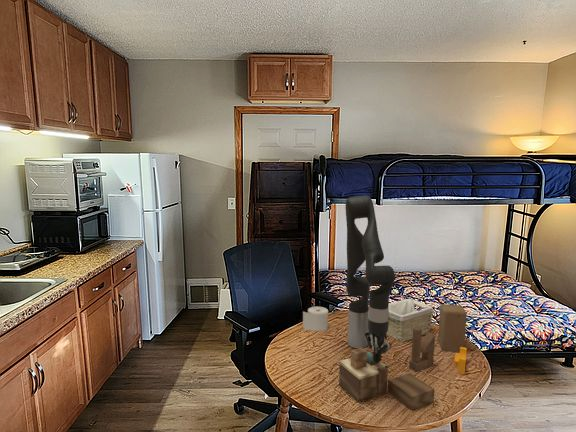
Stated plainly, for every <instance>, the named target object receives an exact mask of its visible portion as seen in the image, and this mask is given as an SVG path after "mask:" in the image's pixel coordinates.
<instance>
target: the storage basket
mask: <svg viewBox="0 0 576 432" xmlns="http://www.w3.org/2000/svg"><path fill="white" fill-rule="evenodd" d="M416 307H417V308H420V310H418V309H417V310H416V309H415V308H416ZM388 309H389V323H388V331H387V333H386V336H389V337H391V338H393V339H395V340H396V341H399V342H400V343H402V342H406V341H409V340H412V338H413V328H414V327H420V328H421V329H422V336H425V335H427V333H428V332H430V333H431V327H432V326H431V324H432V318H433V312H434V310H433V306H431V305H429V304H426V303H423V302H421V301H419V300H416V299H413V298H407V299H402V300H401V299H400V300H397V301H394V302H389V306H388Z"/></svg>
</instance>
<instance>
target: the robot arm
mask: <svg viewBox="0 0 576 432" xmlns="http://www.w3.org/2000/svg"><path fill="white" fill-rule="evenodd" d="M344 209H345V218H346V221H345V222H346V263H347V265H346V266H347V267H346V284H345V287H346V288H345V290H346V293H347V295H348V296H350V297H351V296H352V297H361V298H359V299H356V300H353V301H351V302H349V304H348V324H347V325H348V327H347V329H348V330H347V345H349V346H350V347H351V348H354V349H359V348H363V349H364V348H367V347H368V348H369V349H371V351H372V354H373V361H375V362H376V363H377V362H379V363H381V361H382V354H386V353H387V352H388V350H389V349H391V348H392V344H391V343H389V342H388V335H387V334H386V333H387V331H388V323H389V309H388V306H389V303H390V296H391V295H390V294H391V292H392V289H393V285H394V282H395V278H396V277H395V276H396V275H395V273H396V272H395V270H394V268H393V267H392V266H391V265H375V264H378V263H381V262H383V261H384V258H385V256H384V251H383V248H382V244H381V241H380V238H379V231H378V224H377V217H376V212H375V206H374V203H373V200H372V197H370V196H369V195H359V196H358V195H357V196H353V197H352V196H351V197H347V199H346V201H345V208H344ZM364 218H365V219H367V225H366V229H365V231H364V233H363V234H362V232H361V231H360V230H359V228H358V226H357V225H356V220H357V219H364ZM364 263H365V274H364V276H357V275H355V274H356V273H357V271H358V270H359V269H360V268H361V267H362V265H363V264H364ZM371 286H379V287H378V288H375V289H373V290H371ZM370 290H371V291H370Z"/></svg>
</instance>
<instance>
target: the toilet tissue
mask: <svg viewBox="0 0 576 432" xmlns="http://www.w3.org/2000/svg"><path fill="white" fill-rule="evenodd" d="M328 321H329V310H328V309H327V308H326V307H323V306H311V307H309V308H307V312H305V311H302V329H303V330H304V329H305V330H306V331H312V332H324V331H327V329H328V328H329V326H328V323H329V322H328Z"/></svg>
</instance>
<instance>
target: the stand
mask: <svg viewBox="0 0 576 432" xmlns="http://www.w3.org/2000/svg"><path fill="white" fill-rule="evenodd" d="M387 394H389V395H390V396H392V397H393V398H395V399H396V400H397V401H398V402H400V403H401V405H403V406H405V407H406V408H407V409H409V410H410V411H414V410H416V409H419V408H422V407H424V406H427V405H430V404H431V403H434V401H435V388H434V387H433V386H431V385H429V384H428V383H426V382H425V381H423V380H422V379H420V378H418V377H417V376H416V375H413V374H412V373H410V372H409V373H405V374H403V375H400V376H397V377H394V378H390V379H387Z"/></svg>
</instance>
